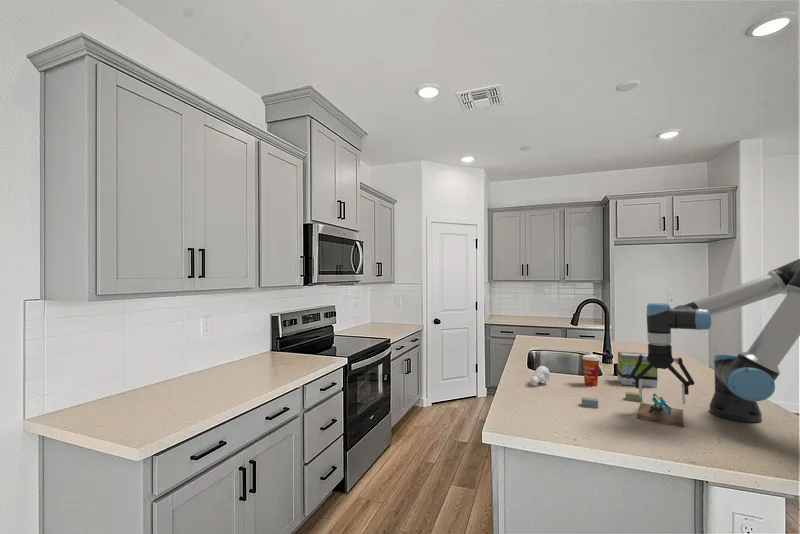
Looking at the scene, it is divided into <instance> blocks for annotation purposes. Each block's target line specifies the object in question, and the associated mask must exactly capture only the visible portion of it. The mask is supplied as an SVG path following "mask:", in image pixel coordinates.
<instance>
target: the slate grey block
mask: <svg viewBox="0 0 800 534" xmlns="http://www.w3.org/2000/svg"><path fill="white" fill-rule="evenodd" d="M581 407H584V408H594V409H599V399H598V398H592V397H581Z"/></svg>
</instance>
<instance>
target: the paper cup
mask: <svg viewBox="0 0 800 534" xmlns="http://www.w3.org/2000/svg"><path fill="white" fill-rule="evenodd" d="M581 358H582V366H583V368H582V369H583V378H584V385H585V386H588V387H592V386H595V387H598V382H599V366H600V365H599V363H600V358H599V355H595V354H594V355H593V354H584V355H582V357H581Z"/></svg>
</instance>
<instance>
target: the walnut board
mask: <svg viewBox="0 0 800 534" xmlns="http://www.w3.org/2000/svg"><path fill="white" fill-rule="evenodd" d="M652 405H653V404H650V403H643V402H639V407H638V410H637V413H636V418H637V419H638V420H643V421H648V422H656V423H660V424H665V425H669V426H671V425H672V426H675V425H676V427H682V428H684V409H679V408H675V407H671V408H672V409H671V410H670V413H671V414H669V415H668V414H667V413H666V412H665V411H664V410H663V411H661V409H660V408H659V409H658V408H657V409H655V410H654V411H652V412H651V413H650V412H649V410H651V408H650V407H651V406H652ZM662 407H663V408H664V409H665V410H666V411H667V412H669V411H668V410H667V408H666V407H665V406H662ZM668 409H670V408H668Z"/></svg>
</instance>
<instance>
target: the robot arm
mask: <svg viewBox="0 0 800 534" xmlns="http://www.w3.org/2000/svg"><path fill="white" fill-rule="evenodd" d="M780 294H781V295H785V297H784V298H783V300H782V302H781V303H780V304H779V306H778V307H777V308H776V310H775V312H774V313H773V314H772V316H771V317H770V318H769V320H768V321H767V322H766V325H765V326H763V329H762V330H761V331H760V333H759V334H758V335H757V337H756V339H755V340H754V342H753V343H752V344H751V345H750V347H749V349H748V350H747V351H744V352H739V353H738V354H730V353H716V354H715V355H714V357H713V358H714V360H713V363H714V364H713V365H714V367H713V368H714V370H713V371H714V394H713V395H712V398H711V401H710V403H709V406H708V407H709V413H711V414H712V415H715V416H717V417H719V418H724V419H726V420H730V421H731V420H732V421H734V422H735V421H736V422H741V423H759V422H762V421H763V417H762V416H763V415H762V411H761V409H760V406H759V404H758V402H762V401H765V400H767V399H769V398H771V397H772V395H774V392H775V390H776V384H775V381H776V380H777V378H778V377H779V375H780V374H781V371H780V369H779V365H780V364H781V362H782V361H783V359H784V358H785V357H786V356H787V354H788V353H789V352H790V350H791V348H792V347H793V346H794V344H795V343H796V341H798V339H799V338H800V258H797V259H796V260H793V261H791V262H788V263H785V264H784V265H781V266H780V267H776V268H774V269H772V270H768V272H767V274H765V275H763V276H760V277H759V278H755V279H753V280H750V281H747V282H745V283H741V284H739V285H736V286H733V287H731V288H727V289H725V290H722V291H720V292H716V293H714V294H711V295H708V296H705V297H702V298H700V299H697V300H694V301H691V302H688V303H685V304H684V305H683V304H681V305H677V306H675V307H674V308H671V305H670V304H669V303H666V302H652V303H651V302H649V303H648V304H647V305H646V327H647V329H646V330H647V333H646V334H647V342H648V344H647V353H648V356H644V355H642V354H640V355H639V360H638V362H637V364H636V366H635V367H634V369H633V371H632V373H631V375H630V378H633V379H635V384H636V385H635V388H636V389H638V393H639V398H642V399H643V386H642V380H641V379H640V378H641V377H642V376H643V375H644V374H645V373H646V372H647V371H649V370H650V369H651V368H652V367H654V368H657V369H661V370H667V369H668V371H670V372H671V373H672V374H673V375H674V376H675V377H676V378H677V379H678V380H679V381H680V382H681V383H682V384H681V394H682V400H681V401H682V405H686V395H687V396H688V395H690V394H689V392H690V391H689V387H690V386H694V385H695V381H694V379H693V378H692V376H691V374H690V373H689V371H688V370H687V367H685V364H684V363H683V358H682V357H676V358H673V356H672V355H673V351H672V345H671V344H672V329H674V330H677V329H678V330H681V329H682V330H697V331H700V330H704V331H705V330H709V329H710V328H711V326H712V317H714V316H718V315H720V314H724V313H726V312H729V311H732V310H733V311H734V310H735V309H738V308H741V307H746V306H747V305H750V304H753V303H757V302H759V301H763V300H765V299H768V298H771V297H774V296H777V295H780ZM645 359H647V360H648V361H649V362H650V363H649V364H648V366H646V367H645V368H644V369H643V370H642V371H641V372H640V373H639V374H638V375H637V376H636V375H635V373H636V372H637V370H638V368H639V366H640V365H641V363H642V361H645ZM674 362H675V364H676V365H678V366H679V368H680V369H681V372H682V373H683V375H684V376H685V377H683V376H682V375H681V374H680V372H678V370H676V369H675V367H674V366H673V365H672V364H673V363H674ZM685 378H686V379H685Z"/></svg>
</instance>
